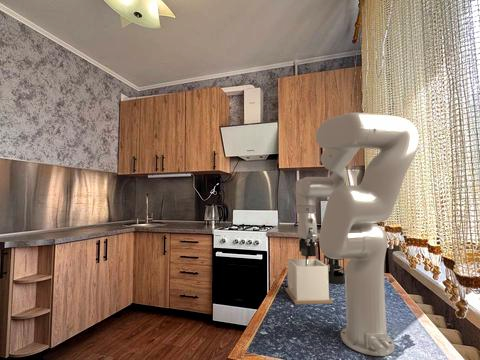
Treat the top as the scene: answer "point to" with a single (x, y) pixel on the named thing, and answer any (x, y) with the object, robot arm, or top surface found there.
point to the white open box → (308, 282)
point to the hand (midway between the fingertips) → (307, 253)
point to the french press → (335, 271)
